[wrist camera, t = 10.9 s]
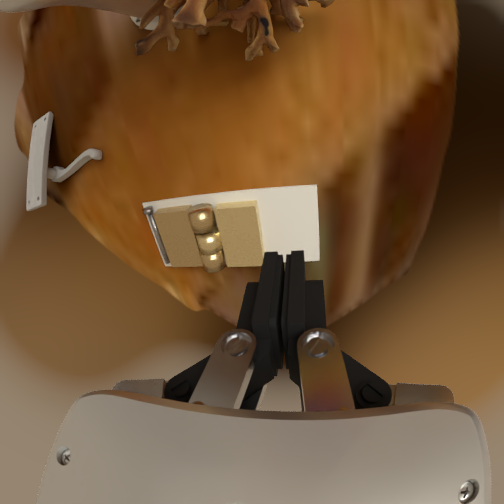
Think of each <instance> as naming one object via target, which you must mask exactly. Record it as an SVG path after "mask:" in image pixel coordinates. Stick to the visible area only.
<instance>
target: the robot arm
mask: <svg viewBox="0 0 504 504" xmlns="http://www.w3.org/2000/svg"><path fill="white" fill-rule="evenodd" d="M156 2H157V0H0V11H2V12H23V11H30V10H35V9H40V8H45V7H51V6H60V5H72V6H82V7H89V8H95V9H101V10H106V11H111V12H115V13H120V14H124V15H128V16H130V17H131V19H132V21H133V22H134V23H135V24H136V25H137V26H140V22H141V18H142V17H143V16H144V15H145V14H146V13H147V11H148V10H149V9H150V8H151V7H152V6H153V5H154V4H155V3H156ZM183 6H184V5H183ZM183 6H182V7H180V8H179V9H178V11H177V12H176V13H175V15H174V18H175V17H176V16H177V15H178V14H179V12H180V11H181V9H182V8H183ZM158 21H159V16H156V17H155V18H154V19H153V20H152V21H151V22H150V23H149V24H148V25H147V26H146V27H145V28H144V29H147V30H154V29H155V28H156V26H157V25H158ZM284 354H285V361H286V369H289V373H290V379H291V380H292V381H293V382H294V383H295V384H297V385H298V386H299V394H300V402H301V411H302V412H280V411H279V412H278V411H259V410H260V407H261V403H262V400H263V397H264V394H265V391H266V387H267V383H268V382H269V381H271V380H272V379H274V376H277V372H278V369H282V368H283V359H284ZM36 504H491V466H490V458H489V451H488V445H487V440H486V436H485V432H484V429H483V426H482V423H481V421H480V419H479V417H478V416H477V414H476V413H475V412H474V411H473V410H471V409H470V408H468V407H465V406H463V405H459V404H455V403H454V396H453V393H452V391H451V390H450V389H449V388H447V387H446V386H442V385H424V384H407V383H397V384H396V385H391V384H388V383H386V382H385V381H384V380H383V379H381V378H380V377H379V376H377V375H376V374H374V373H373V372H371V371H370V370H368V369H367V368H366V367H364V366H363V365H361V364H360V363H358V362H357V361H356V360H354V359H353V358H352V357H350V356H349V355H347V354H346V353H344V352H343V351H342V350H341V349H340V344H339V341H338V339H337V337H336V335H335V334H334V333H332V332H331V331H329V330H327V329H326V315H325V301H324V288H323V280H309V281H305V261H304V250H297V251H291V254H286V266H285V270H284V261H283V255H278V252H277V251H275V252H265V253H264V258H263V263H262V269H261V274H260V280H259V282H248V283H247V286H246V290H245V294H244V298H243V303H242V307H241V311H240V315H239V320H238V324H237V328H236V329H233V330H229V331H227V332H225V333H224V334H223V335H222V336H221V337H220V338H219V340H218V341H217V344H216V346H215V348H214V350H213V352H212V354H211V355H209V356H208V357H206V358H204V359H203V360H201V361H199V362H198V363H196V364H195V365H193V366H192V367H190V368H188V369H186V370H184V371H183V372H181V373H179V374H178V375H176V376H174V377H173V378H172V379H170V380H169V381H165V380H164V379H149V380H123V381H120V382H118V383H117V384H116V385H115V386H114V387H113V389H112V390H98V391H93V392H89V393H86V394H84V395H82V396H80V397H79V398H78V399H77V400H76V401H75V402H74V403H73V405H72V406H71V408H70V409H69V411H68V413H67V415H66V417H65V419H64V420H63V422H62V425H61V427H60V429H59V431H58V434H57V436H56V438H55V441H54V443H53V446H52V449H51V452H50V454H49V458H48V460H47V463H46V467H45V469H44V473H43V476H42V480H41V484H40V488H39V492H38V495H37V500H36Z"/></svg>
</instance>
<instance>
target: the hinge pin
mask: <svg viewBox="0 0 504 504" xmlns="http://www.w3.org/2000/svg"><path fill="white" fill-rule="evenodd" d="M153 211H154V210H153V207H152V206H148V207H145V208H144V209H143V213H144V214H145V215H147V214H148V217H149V220H150V223H151V226H152V228H153V231H154V234H155V237H156V239H157V242H158V245H159V247H160V250H161V253H162V255H163V258H164V260H165V263H166V264H169V263H170V260H169V258H168V255H167V252H166V250H165V247H164V244H163V242H162V239H161V236H160V233H159V230H158V228H157V225H156V222H155V219H154V216H153V214H154V213H153Z"/></svg>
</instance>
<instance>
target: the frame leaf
mask: <svg viewBox="0 0 504 504" xmlns="http://www.w3.org/2000/svg"><path fill="white" fill-rule="evenodd" d="M153 216H154V219H155V222H156V225H157V228H158V230H159V233H160V236H161V239H162V242H163V244H164V247H165V250H166V252H167V255H168V258H169V260H170V263H171V266H172V267H199V266H203V267H204V270H205V271H206V272H210V273H214V272H218V271H220V270H222V269H223V268H224V267H225V266H226V260H225V256H224V252H223V248H222V249H221V250H220V251H219V252H217V253H214V254H208V255H207V254H202V253H201V252H200V249H199V246H198V242H197V239H196V233H197V234H201V233H206V232H209V231H211V230H213V229H214V228H215V227H216V225H217V224H216V220H215V216H214V212H213V208H212V205H211V204H210V203H201V204H197V205H194V206H192V204H191V205H183V206H175V207H167V208H159V209H158V210H157V211H156V212H155V213H154V214H153Z"/></svg>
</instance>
